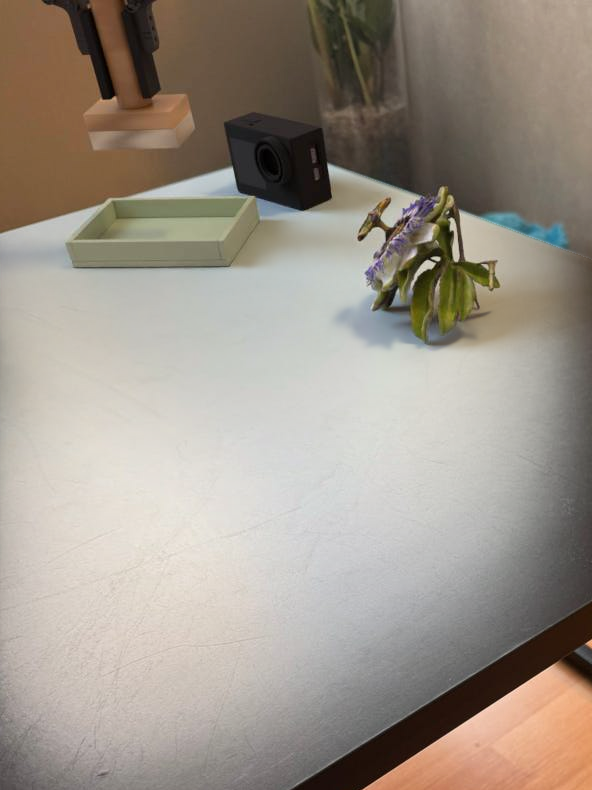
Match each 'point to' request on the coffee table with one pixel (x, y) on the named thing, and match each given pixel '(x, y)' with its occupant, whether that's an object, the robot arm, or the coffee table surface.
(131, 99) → the brush
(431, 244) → the passion flower
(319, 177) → the digital camera
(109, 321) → the coffee table surface
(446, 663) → the coffee table surface
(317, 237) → the coffee table surface
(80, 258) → the tray
